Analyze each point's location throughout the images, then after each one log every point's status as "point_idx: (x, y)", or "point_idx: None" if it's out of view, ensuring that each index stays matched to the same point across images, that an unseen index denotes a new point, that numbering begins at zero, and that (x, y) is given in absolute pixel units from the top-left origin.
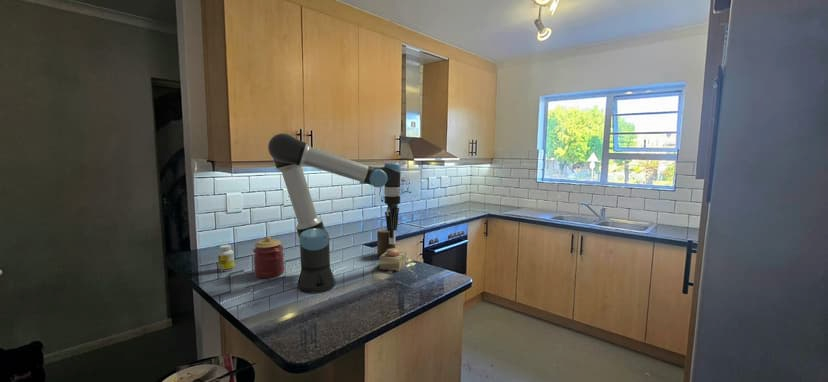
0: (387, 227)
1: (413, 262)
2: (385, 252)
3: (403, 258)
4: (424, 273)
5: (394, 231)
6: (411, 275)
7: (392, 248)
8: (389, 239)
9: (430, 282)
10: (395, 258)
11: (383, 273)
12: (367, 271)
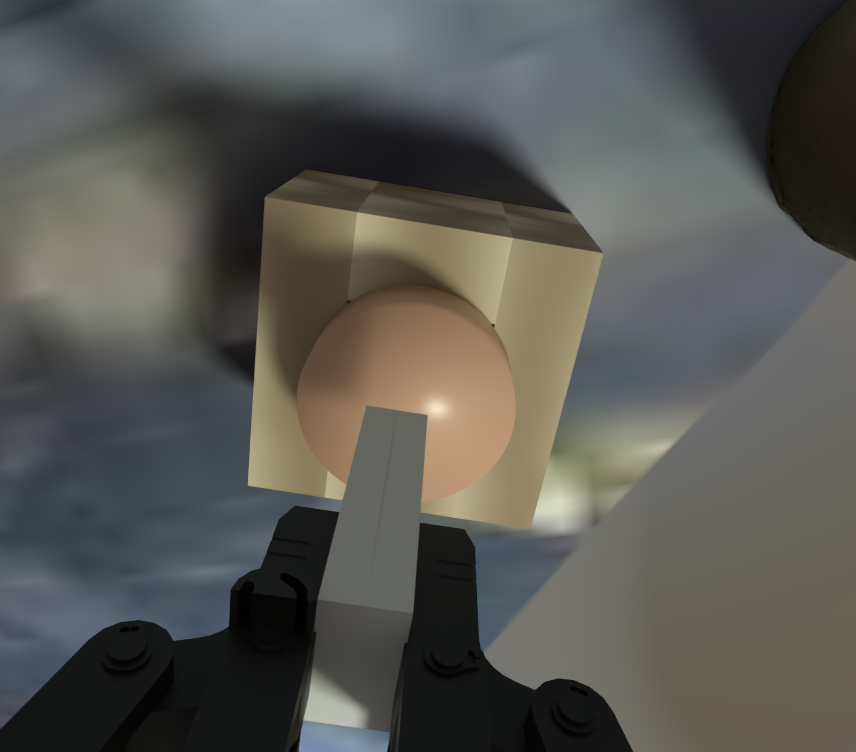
0: (19, 729)
1: (587, 506)
2: (504, 243)
3: None
4: None
5: (322, 712)
6: (206, 531)
7: (501, 385)
8: (353, 463)
9: None
10: (251, 440)
11: (174, 255)
12: (178, 24)
